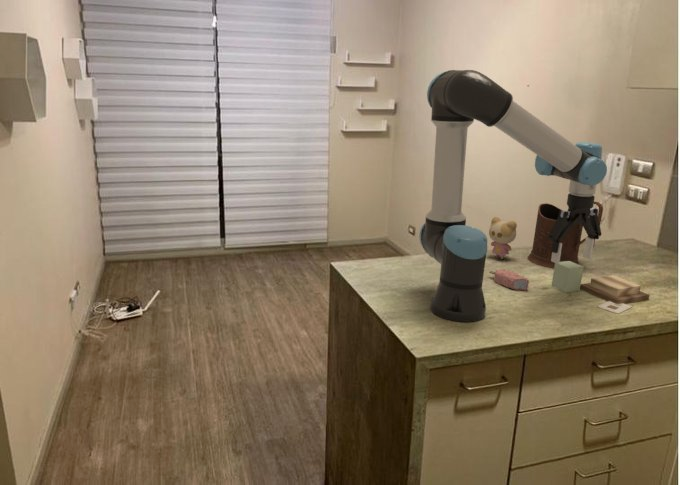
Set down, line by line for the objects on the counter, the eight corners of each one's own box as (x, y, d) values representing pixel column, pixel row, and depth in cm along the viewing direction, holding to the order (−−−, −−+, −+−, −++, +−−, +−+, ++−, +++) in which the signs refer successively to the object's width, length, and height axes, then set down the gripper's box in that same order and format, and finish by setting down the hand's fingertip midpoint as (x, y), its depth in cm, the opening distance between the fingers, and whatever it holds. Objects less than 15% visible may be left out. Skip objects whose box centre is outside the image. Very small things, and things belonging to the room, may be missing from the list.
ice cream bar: (497, 265, 182) (533, 278, 170) (496, 277, 183) (531, 290, 171) (484, 267, 178) (520, 280, 166) (483, 279, 179) (518, 293, 167)
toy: (481, 256, 202) (486, 217, 198) (494, 252, 208) (499, 214, 204) (504, 263, 195) (509, 223, 191) (517, 259, 201) (522, 220, 196)
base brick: (616, 305, 161) (619, 292, 160) (579, 288, 174) (581, 276, 172) (648, 299, 167) (651, 287, 166) (610, 283, 179) (612, 272, 178)
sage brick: (565, 292, 170) (569, 268, 168) (551, 285, 175) (555, 262, 173) (579, 290, 172) (583, 266, 170) (565, 283, 178) (569, 260, 175)
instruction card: (618, 314, 155) (618, 312, 155) (597, 307, 159) (597, 305, 159) (631, 307, 160) (632, 305, 160) (611, 300, 165) (611, 299, 165)
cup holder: (547, 251, 213) (557, 188, 206) (604, 269, 194) (617, 201, 187) (516, 257, 203) (525, 192, 196) (574, 277, 184) (587, 205, 177)
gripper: (560, 199, 157) (550, 268, 163) (620, 193, 167) (609, 259, 173) (541, 194, 163) (532, 260, 169) (600, 189, 173) (590, 252, 179)
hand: (571, 260), depth 171 cm, fingers open, 13 cm apart
